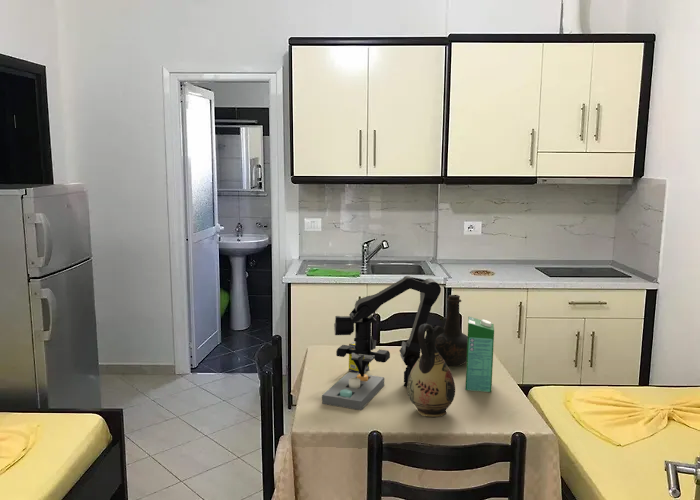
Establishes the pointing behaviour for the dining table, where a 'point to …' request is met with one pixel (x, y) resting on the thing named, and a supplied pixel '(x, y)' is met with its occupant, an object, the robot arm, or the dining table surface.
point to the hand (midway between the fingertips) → (362, 376)
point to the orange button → (363, 377)
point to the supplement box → (351, 363)
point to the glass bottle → (452, 336)
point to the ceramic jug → (430, 376)
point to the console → (353, 392)
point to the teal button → (346, 393)
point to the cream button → (354, 383)
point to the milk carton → (479, 355)
